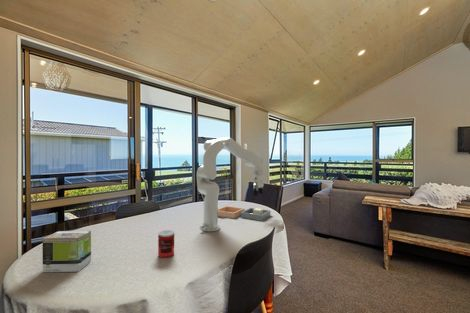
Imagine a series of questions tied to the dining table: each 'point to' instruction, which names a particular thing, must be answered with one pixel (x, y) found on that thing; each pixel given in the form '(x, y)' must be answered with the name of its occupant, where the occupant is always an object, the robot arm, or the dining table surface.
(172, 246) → the canned food
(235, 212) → the tub
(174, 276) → the dining table surface
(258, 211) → the stone block
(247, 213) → the bin
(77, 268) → the tea box
